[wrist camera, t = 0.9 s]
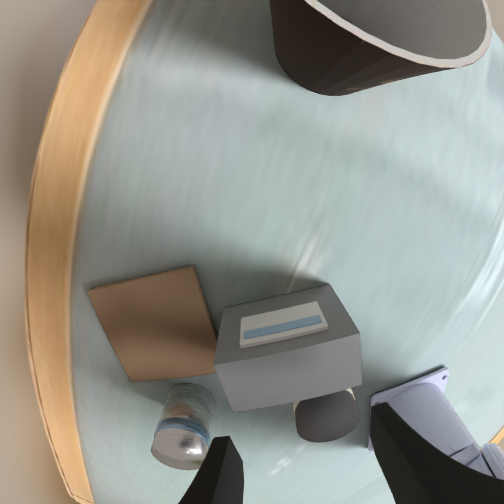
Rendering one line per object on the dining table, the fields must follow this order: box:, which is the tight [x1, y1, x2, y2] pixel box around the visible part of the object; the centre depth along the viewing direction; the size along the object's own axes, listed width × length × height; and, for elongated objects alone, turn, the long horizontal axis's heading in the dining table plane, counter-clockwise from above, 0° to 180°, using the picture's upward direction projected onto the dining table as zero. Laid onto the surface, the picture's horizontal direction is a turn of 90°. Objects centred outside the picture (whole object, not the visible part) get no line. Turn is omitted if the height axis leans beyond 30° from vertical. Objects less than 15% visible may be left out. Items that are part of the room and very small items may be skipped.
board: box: [88, 265, 218, 382], centre depth 19 cm, size 8×8×1 cm
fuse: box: [151, 383, 214, 470], centre depth 18 cm, size 4×4×6 cm
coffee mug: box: [270, 0, 492, 96], centre depth 9 cm, size 12×9×10 cm
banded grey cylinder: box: [292, 388, 360, 442], centre depth 17 cm, size 4×4×6 cm
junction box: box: [213, 284, 362, 412], centre depth 16 cm, size 4×7×6 cm, turn 103°
